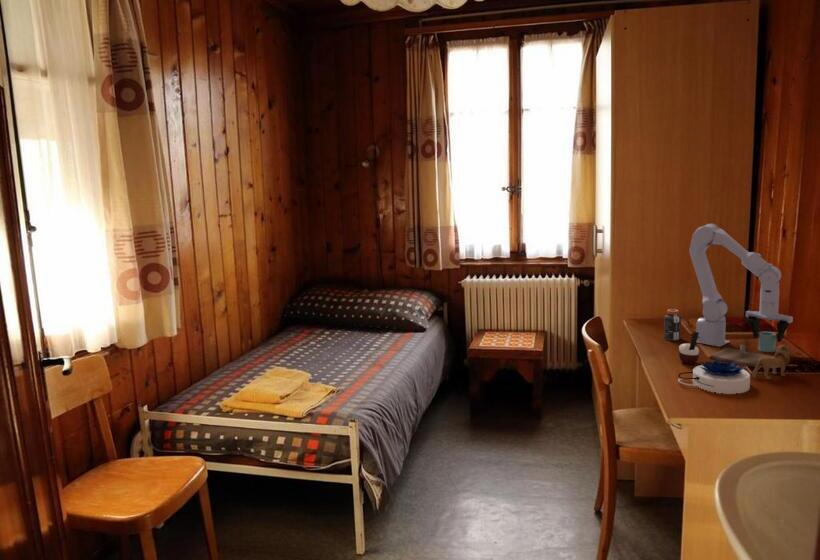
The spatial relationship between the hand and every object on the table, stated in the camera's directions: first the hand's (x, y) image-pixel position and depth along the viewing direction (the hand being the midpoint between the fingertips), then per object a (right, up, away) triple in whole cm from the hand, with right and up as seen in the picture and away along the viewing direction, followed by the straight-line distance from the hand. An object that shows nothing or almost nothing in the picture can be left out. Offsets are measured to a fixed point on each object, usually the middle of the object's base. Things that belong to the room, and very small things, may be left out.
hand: (767, 339), depth 214 cm
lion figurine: (-13, -9, -23) cm, 28 cm away
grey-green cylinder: (0, -4, +1) cm, 4 cm away
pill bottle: (-25, -2, +20) cm, 32 cm away
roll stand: (-13, -6, -7) cm, 16 cm away
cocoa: (-31, -7, -8) cm, 33 cm away
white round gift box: (-33, -12, -28) cm, 45 cm away
